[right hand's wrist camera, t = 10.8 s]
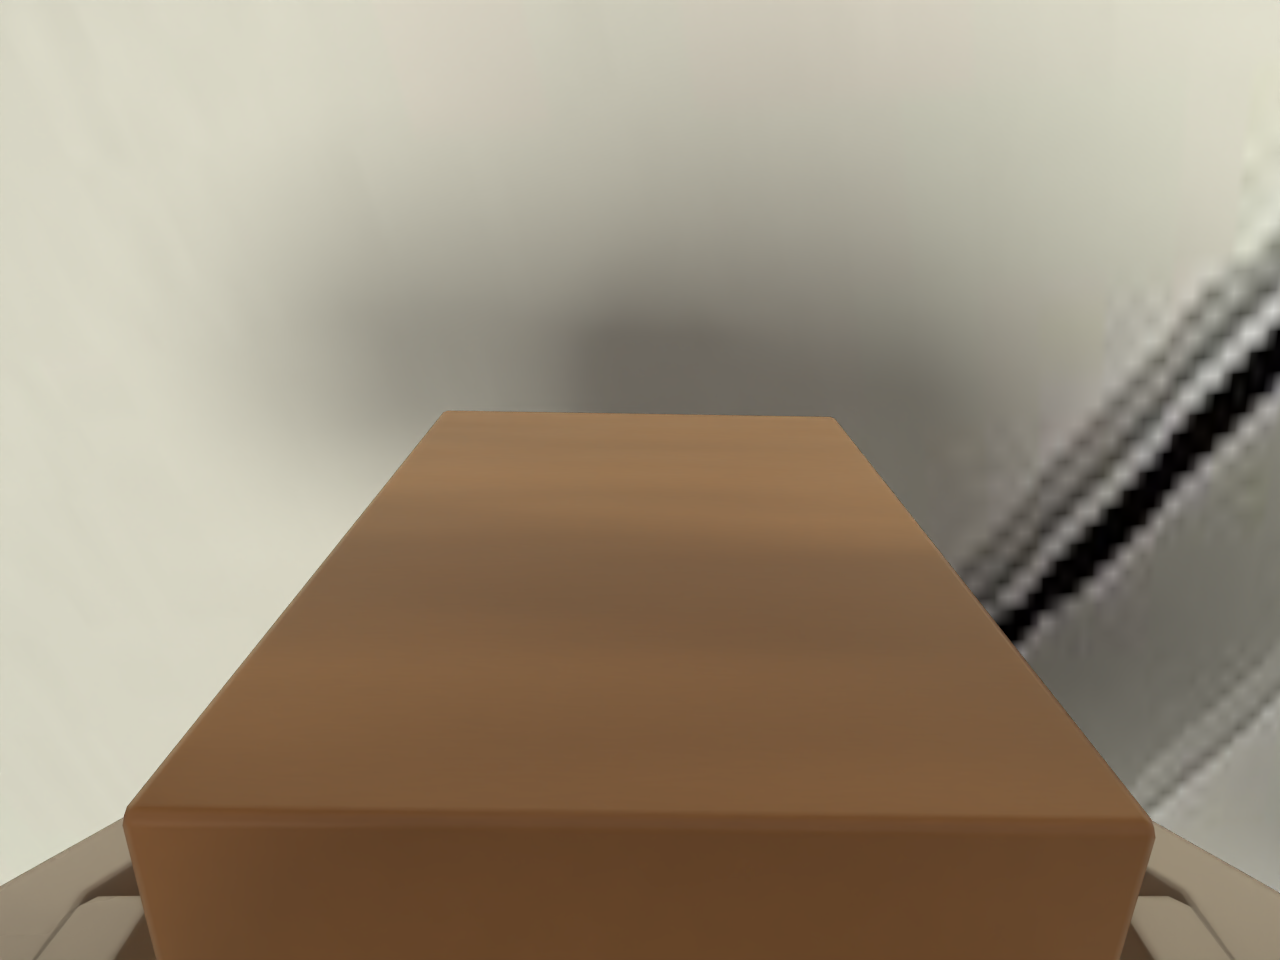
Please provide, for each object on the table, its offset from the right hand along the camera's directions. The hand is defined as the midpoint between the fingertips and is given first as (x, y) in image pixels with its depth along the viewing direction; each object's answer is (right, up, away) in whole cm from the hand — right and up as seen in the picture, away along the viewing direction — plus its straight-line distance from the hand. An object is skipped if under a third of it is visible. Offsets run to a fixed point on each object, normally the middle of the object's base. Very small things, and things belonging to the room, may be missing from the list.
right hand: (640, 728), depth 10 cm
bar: (0, -9, +6) cm, 10 cm away
